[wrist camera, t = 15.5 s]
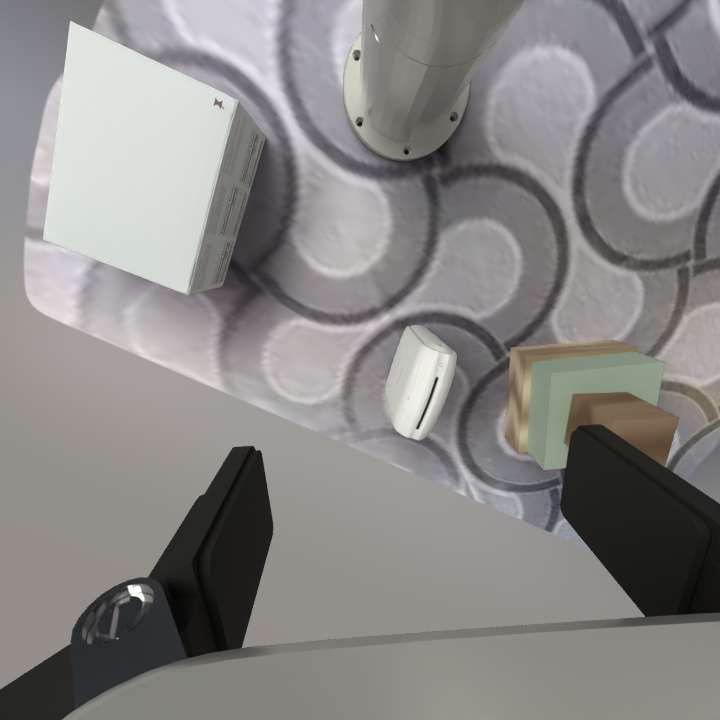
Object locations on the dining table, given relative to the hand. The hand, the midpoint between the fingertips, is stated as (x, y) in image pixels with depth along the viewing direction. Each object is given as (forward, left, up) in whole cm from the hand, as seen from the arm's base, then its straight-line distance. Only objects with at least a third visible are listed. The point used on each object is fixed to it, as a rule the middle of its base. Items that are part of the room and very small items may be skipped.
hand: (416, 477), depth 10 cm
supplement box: (-14, -19, -33) cm, 40 cm away
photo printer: (+7, +5, -33) cm, 34 cm away
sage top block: (+12, +25, -28) cm, 40 cm away
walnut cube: (+12, +24, -24) cm, 37 cm away
